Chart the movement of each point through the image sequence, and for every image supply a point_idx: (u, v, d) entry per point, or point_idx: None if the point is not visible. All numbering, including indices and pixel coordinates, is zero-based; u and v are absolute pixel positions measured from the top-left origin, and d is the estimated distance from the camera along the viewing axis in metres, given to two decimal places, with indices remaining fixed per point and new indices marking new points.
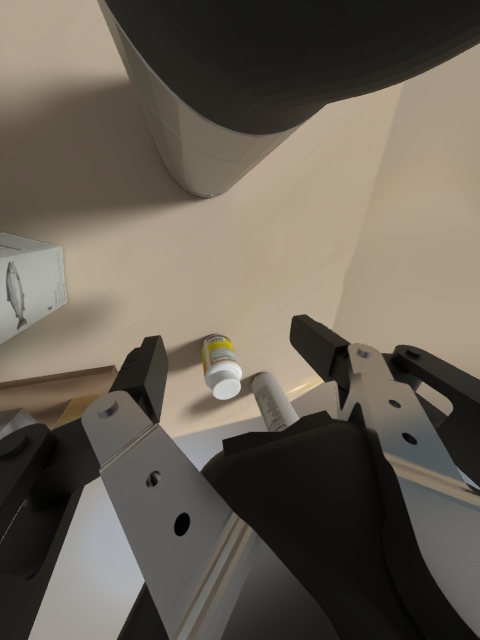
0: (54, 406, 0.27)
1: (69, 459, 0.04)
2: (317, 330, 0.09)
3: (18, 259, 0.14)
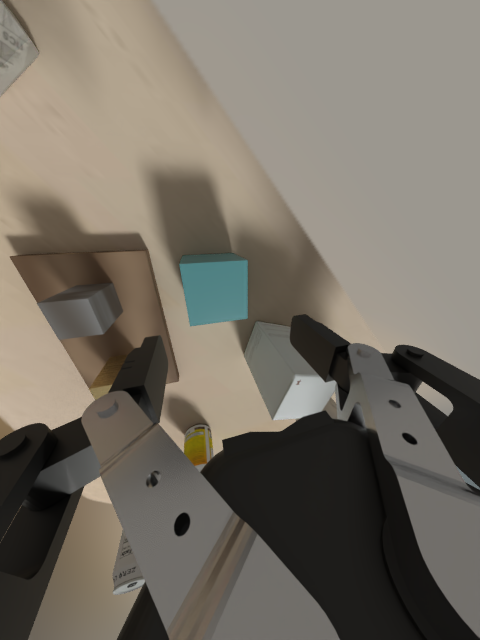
0: (123, 336, 0.23)
1: (69, 459, 0.04)
2: (317, 330, 0.09)
3: None
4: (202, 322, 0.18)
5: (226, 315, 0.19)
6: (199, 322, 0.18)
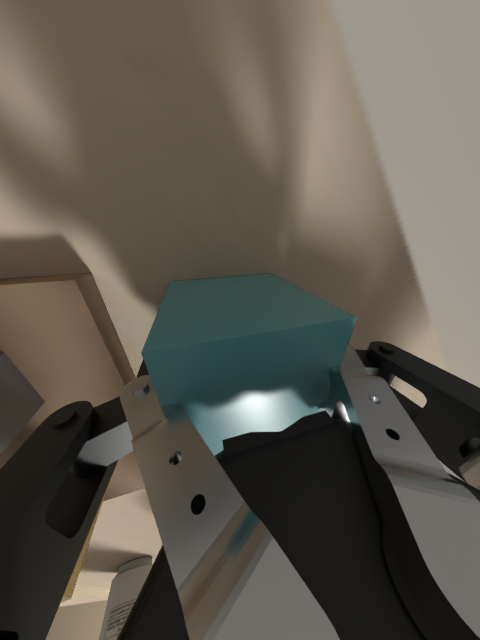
0: None
1: (107, 437, 0.05)
2: None
3: None
4: None
5: None
6: None
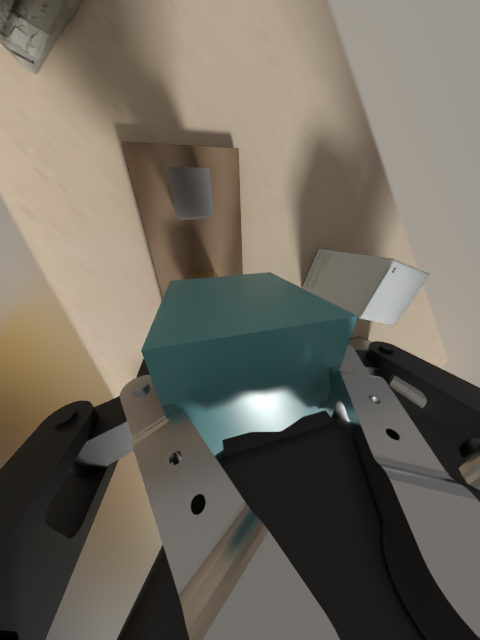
0: (204, 249, 0.23)
1: (107, 437, 0.05)
2: None
3: None
4: None
5: None
6: None
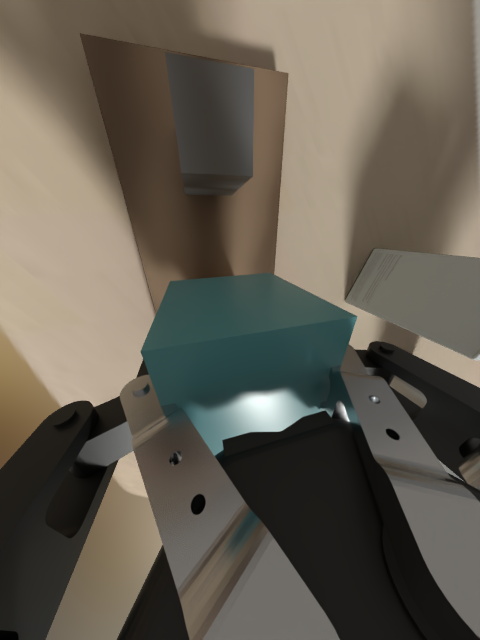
0: (221, 244, 0.15)
1: (107, 437, 0.05)
2: None
3: None
4: None
5: None
6: None
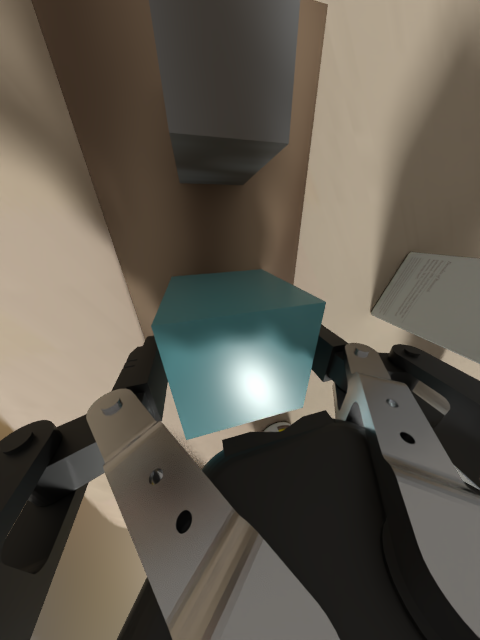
0: (229, 250, 0.12)
1: (74, 456, 0.05)
2: None
3: None
4: (213, 429, 0.09)
5: (263, 409, 0.09)
6: (206, 430, 0.08)
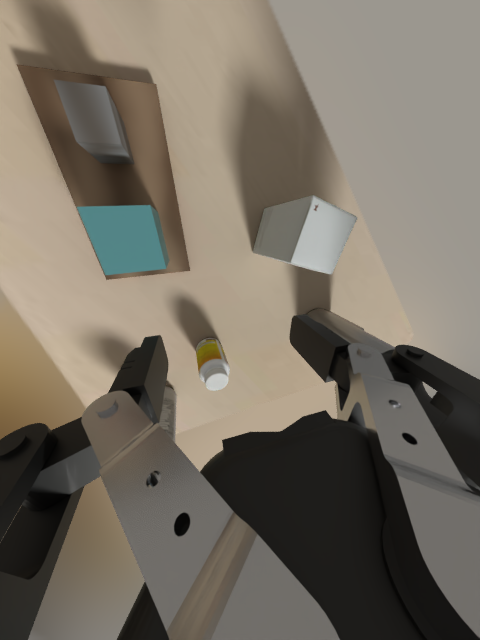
0: (135, 199, 0.22)
1: (69, 459, 0.04)
2: (317, 330, 0.09)
3: None
4: (118, 271, 0.19)
5: (142, 264, 0.20)
6: (114, 271, 0.19)
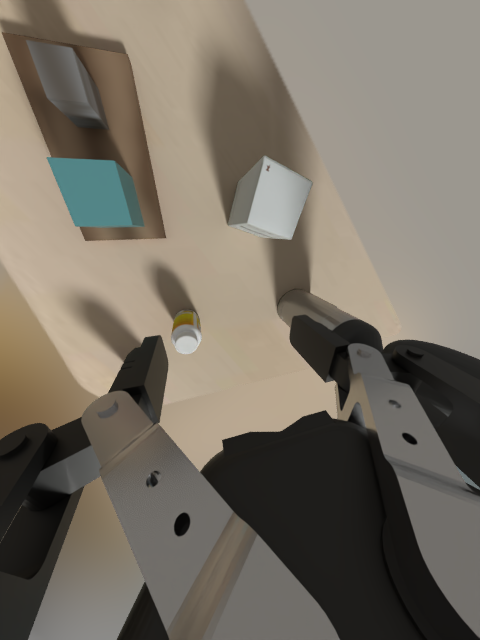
0: None
1: (69, 459, 0.04)
2: (317, 330, 0.09)
3: (271, 237, 0.30)
4: (86, 223, 0.21)
5: (109, 218, 0.21)
6: (83, 223, 0.21)
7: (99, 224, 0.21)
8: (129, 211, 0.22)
